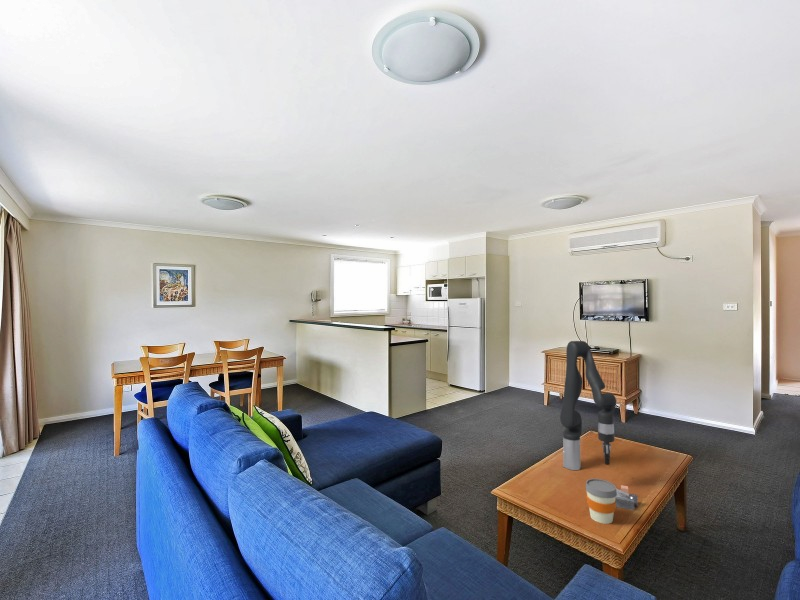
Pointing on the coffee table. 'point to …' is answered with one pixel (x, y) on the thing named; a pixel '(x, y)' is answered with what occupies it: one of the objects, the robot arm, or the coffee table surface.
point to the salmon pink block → (624, 488)
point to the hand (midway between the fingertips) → (607, 464)
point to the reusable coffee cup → (601, 500)
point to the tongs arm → (627, 496)
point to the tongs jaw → (625, 503)
